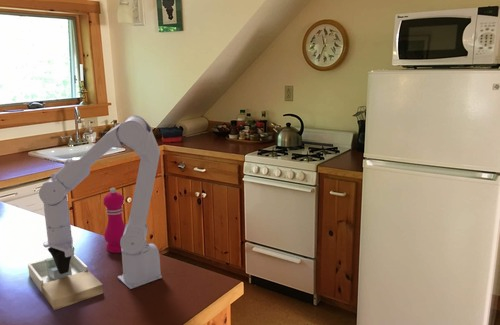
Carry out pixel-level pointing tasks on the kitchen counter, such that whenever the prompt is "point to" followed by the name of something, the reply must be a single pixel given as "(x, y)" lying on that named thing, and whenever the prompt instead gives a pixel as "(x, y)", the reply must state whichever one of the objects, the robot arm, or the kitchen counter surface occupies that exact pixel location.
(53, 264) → the tile
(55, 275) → the tile
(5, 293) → the kitchen counter surface
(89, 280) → the oak plate
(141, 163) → the robot arm
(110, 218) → the pepper mill
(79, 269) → the box
